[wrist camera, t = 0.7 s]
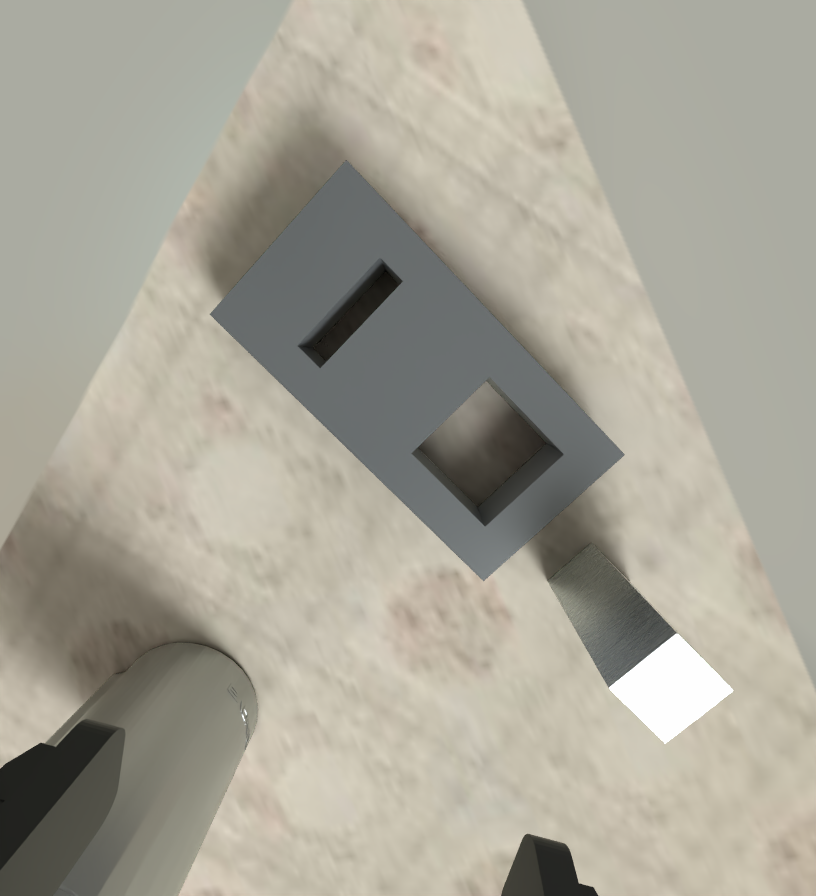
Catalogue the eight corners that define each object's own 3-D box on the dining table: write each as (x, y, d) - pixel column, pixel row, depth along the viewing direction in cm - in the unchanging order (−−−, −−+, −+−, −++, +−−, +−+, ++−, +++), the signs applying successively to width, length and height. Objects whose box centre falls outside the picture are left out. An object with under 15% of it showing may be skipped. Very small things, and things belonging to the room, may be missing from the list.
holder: (599, 443, 28) (624, 454, 25) (476, 555, 30) (483, 581, 26) (356, 186, 26) (346, 159, 23) (236, 320, 28) (209, 314, 24)
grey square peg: (630, 582, 30) (733, 690, 20) (586, 619, 30) (665, 743, 20) (591, 542, 29) (677, 633, 19) (547, 580, 30) (608, 687, 20)
